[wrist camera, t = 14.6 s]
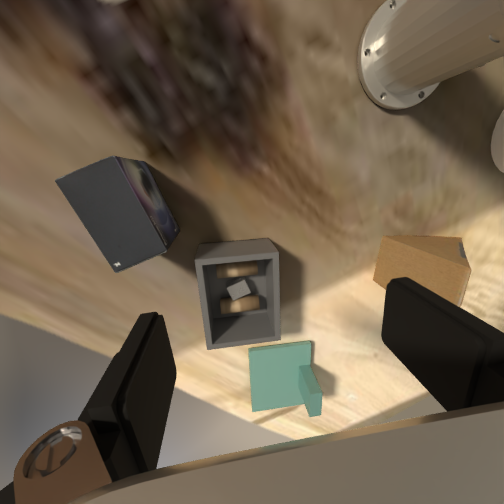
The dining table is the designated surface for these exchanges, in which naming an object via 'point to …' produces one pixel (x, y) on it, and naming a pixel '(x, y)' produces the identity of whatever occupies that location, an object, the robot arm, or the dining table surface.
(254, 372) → the lid
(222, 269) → the dowel
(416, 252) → the sandwich container
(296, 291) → the dining table surface
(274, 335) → the tub
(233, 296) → the metal block
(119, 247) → the small box
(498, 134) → the honey pot
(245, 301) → the dowel
